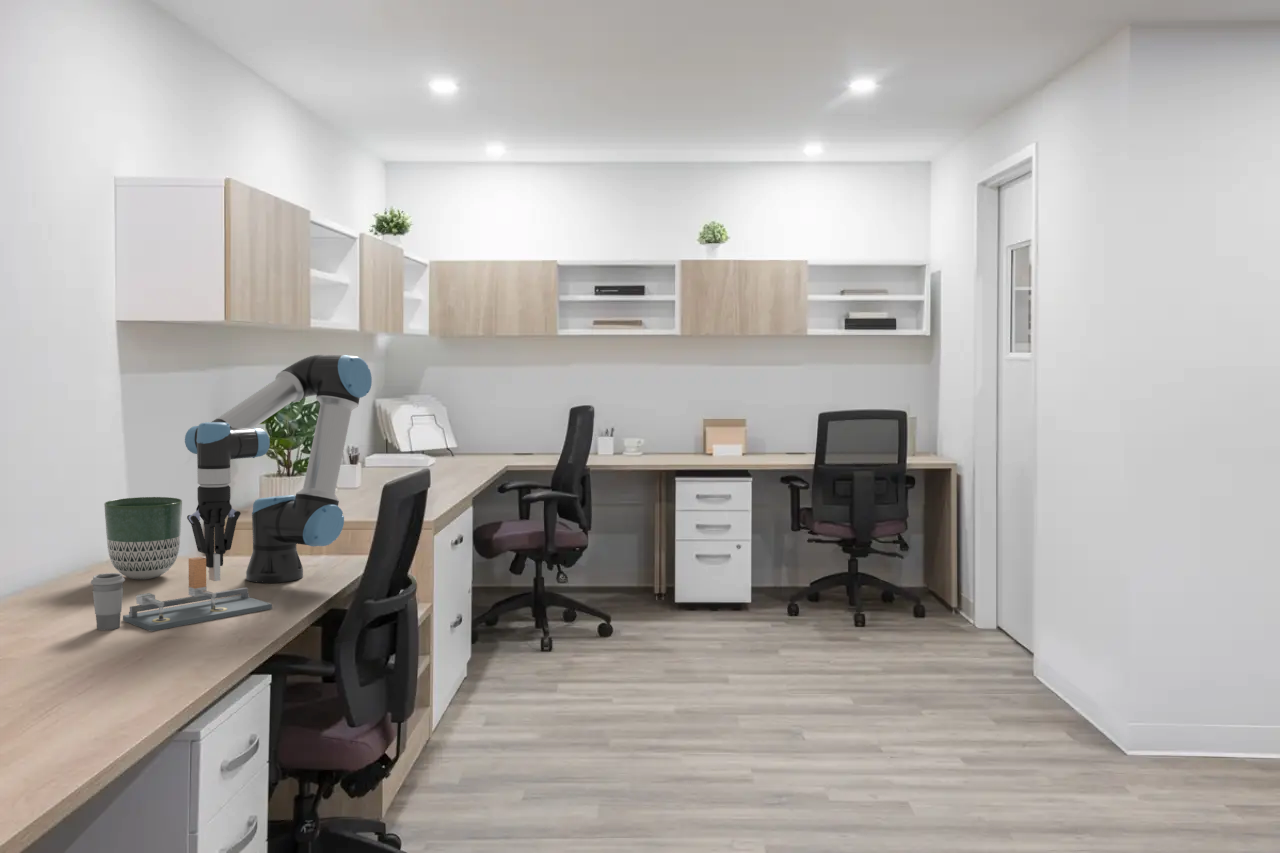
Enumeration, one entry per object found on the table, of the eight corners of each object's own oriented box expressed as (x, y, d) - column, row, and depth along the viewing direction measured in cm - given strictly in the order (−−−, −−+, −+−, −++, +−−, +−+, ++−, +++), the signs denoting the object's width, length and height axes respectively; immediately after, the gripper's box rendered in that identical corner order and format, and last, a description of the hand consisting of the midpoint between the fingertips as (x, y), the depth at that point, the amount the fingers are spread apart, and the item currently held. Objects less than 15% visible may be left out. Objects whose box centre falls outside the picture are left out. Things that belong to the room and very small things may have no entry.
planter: (175, 584, 283) (175, 505, 282) (97, 586, 279) (96, 507, 277) (188, 569, 302) (187, 496, 301) (115, 571, 297) (114, 497, 296)
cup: (113, 622, 242) (112, 571, 241) (132, 626, 239) (131, 574, 238) (84, 629, 236) (83, 576, 235) (103, 633, 233) (102, 580, 232)
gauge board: (242, 599, 267) (242, 594, 267) (272, 608, 258) (272, 603, 258) (122, 620, 244) (122, 615, 244) (151, 631, 235) (150, 625, 235)
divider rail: (243, 596, 266) (243, 577, 265) (264, 602, 260) (263, 583, 259) (127, 616, 243) (127, 596, 243) (146, 623, 237) (146, 603, 237)
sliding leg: (200, 602, 257) (200, 556, 256) (220, 608, 251) (219, 562, 250) (188, 604, 254) (188, 558, 254) (208, 610, 248) (207, 563, 248)
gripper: (231, 481, 264) (231, 573, 265) (180, 485, 254) (181, 581, 255) (246, 484, 259) (247, 578, 260) (196, 488, 249) (196, 586, 250)
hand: (214, 579), depth 258 cm, fingers closed
